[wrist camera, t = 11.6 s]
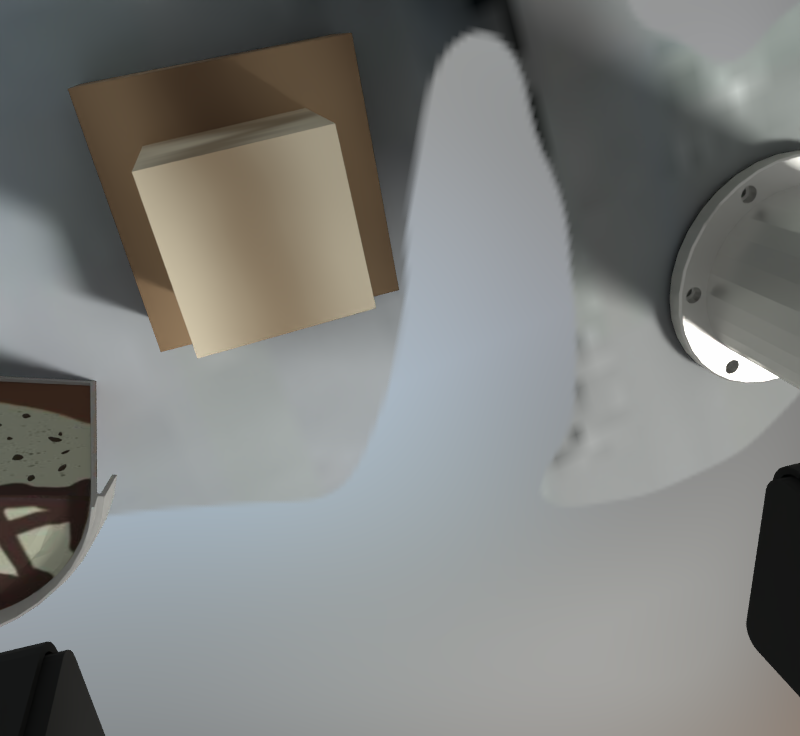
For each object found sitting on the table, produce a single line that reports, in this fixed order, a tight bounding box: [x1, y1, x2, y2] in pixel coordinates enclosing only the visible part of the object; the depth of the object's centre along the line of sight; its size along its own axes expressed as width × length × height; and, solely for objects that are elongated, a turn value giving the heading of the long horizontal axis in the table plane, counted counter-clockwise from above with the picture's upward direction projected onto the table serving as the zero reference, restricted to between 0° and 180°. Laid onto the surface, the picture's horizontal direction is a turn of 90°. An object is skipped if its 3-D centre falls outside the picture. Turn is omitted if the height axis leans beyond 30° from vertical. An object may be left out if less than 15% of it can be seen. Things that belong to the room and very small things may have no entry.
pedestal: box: [68, 33, 399, 352], centre depth 29 cm, size 10×10×4 cm
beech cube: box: [132, 108, 376, 358], centre depth 25 cm, size 6×6×6 cm
